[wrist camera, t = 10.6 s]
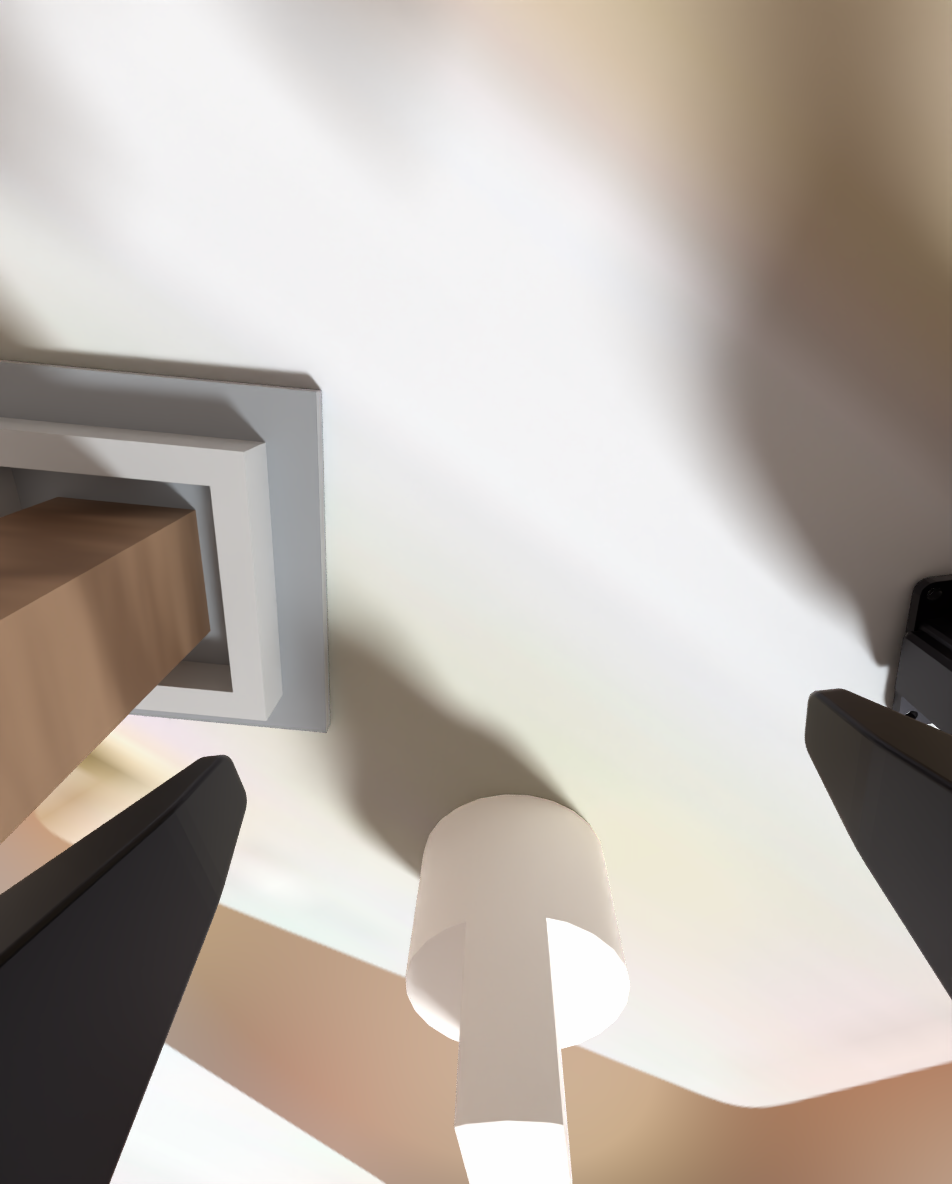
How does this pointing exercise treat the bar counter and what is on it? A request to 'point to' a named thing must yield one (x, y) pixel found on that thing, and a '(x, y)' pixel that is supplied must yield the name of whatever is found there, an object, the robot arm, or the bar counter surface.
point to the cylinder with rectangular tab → (515, 973)
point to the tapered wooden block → (86, 631)
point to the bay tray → (198, 517)
